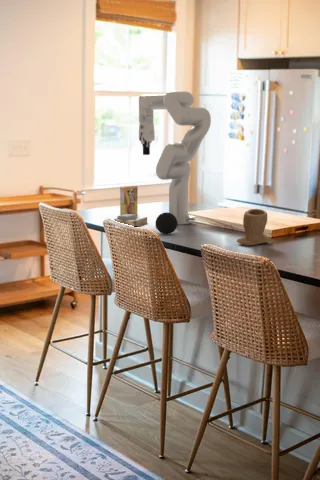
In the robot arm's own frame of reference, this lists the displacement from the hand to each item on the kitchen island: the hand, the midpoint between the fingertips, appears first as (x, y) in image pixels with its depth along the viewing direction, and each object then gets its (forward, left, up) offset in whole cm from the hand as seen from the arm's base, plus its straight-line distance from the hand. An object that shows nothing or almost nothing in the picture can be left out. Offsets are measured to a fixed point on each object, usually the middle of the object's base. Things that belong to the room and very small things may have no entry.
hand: (146, 154), depth 376 cm
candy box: (+9, +3, -32) cm, 34 cm away
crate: (-3, +29, -32) cm, 44 cm away
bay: (-5, +28, -32) cm, 43 cm away
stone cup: (-76, +50, -32) cm, 97 cm away
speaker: (-32, +45, -32) cm, 64 cm away
